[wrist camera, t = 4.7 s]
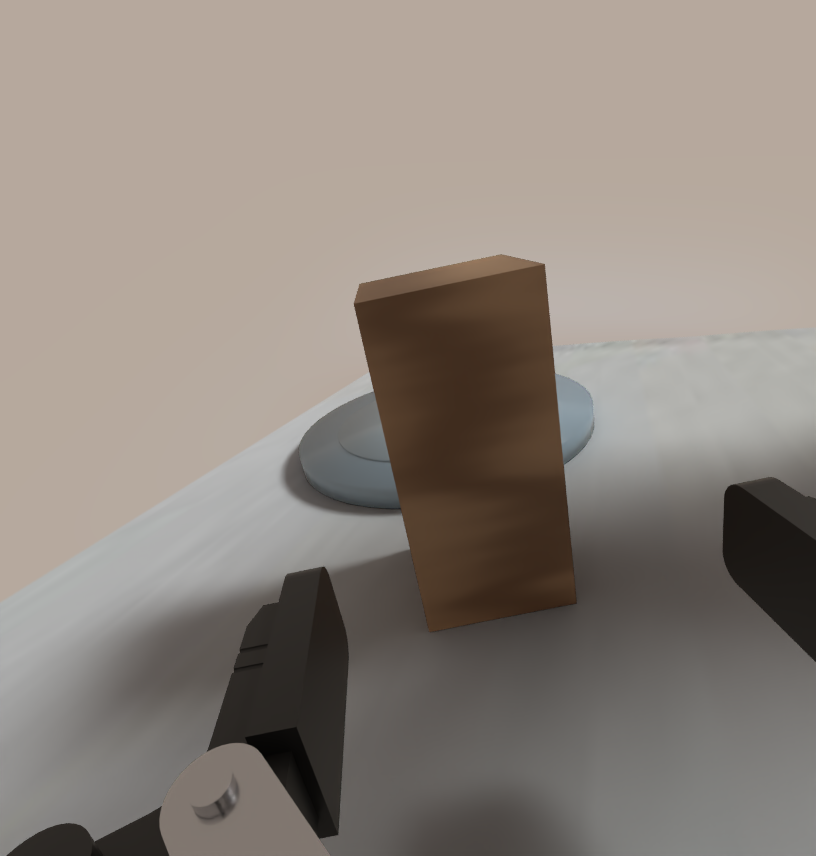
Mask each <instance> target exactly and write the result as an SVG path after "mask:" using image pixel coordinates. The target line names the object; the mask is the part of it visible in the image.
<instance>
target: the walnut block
mask: <svg viewBox="0 0 816 856" xmlns="http://www.w3.org/2000/svg"><path fill="white" fill-rule="evenodd" d="M354 307H355V311H356V316H357V319H358V324H359V329H360V333H361V337H362V342H363V346H364V350H365V355H366V359H367V363H368V367H369V372H370V376H371V381H372V385H373V389H374V394H375V398H376V403H377V407H378V411H379V416H380V420H381V424H382V429H383V433H384V437H385V442H386V446H387V450H388V455H389V459H390V463H391V468H392V472H393V476H394V481H395V485H396V490H397V494H398V498H399V503H400V507H401V511H402V516H403V520H404V524H405V529H406V533H407V537H408V542H409V546H410V550H411V555H412V559H413V564H414V568H415V572H416V577H417V581H418V585H419V590H420V594H421V598H422V603H423V607H424V611H425V616H426V620H427V624H428V629H429V632H433V631H438V630H443V629H448V628H453V627H458V626H463V625H468V624H473V623H479V622H484V621H489V620H494V619H499V618H504V617H509V616H514V615H519V614H525V613H530V612H535V611H540V610H545V609H550V608H555V607H560V606H565V605H570V604H576V603H577V601H576V591H575V580H574V570H573V559H572V548H571V538H570V527H569V517H568V506H567V495H566V485H565V474H564V464H563V453H562V442H561V432H560V421H559V411H558V400H557V389H556V379H555V368H554V358H553V347H552V336H551V326H550V315H549V305H548V294H547V284H546V273H545V264H542V263H538V262H533V261H529V260H524V259H520V258H515V257H511V256H506V255H496V256H492V257H486V258H481V259H477V260H472V261H467V262H462V263H458V264H453V265H448V266H443V267H438V268H433V269H429V270H424V271H419V272H414V273H410V274H405V275H400V276H395V277H390V278H386V279H381V280H376V281H371V282H366V283H362V284H359V288H358V291H357V295H356V298H355V302H354Z"/></svg>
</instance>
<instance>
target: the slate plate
mask: <svg viewBox="0 0 816 856" xmlns="http://www.w3.org/2000/svg"><path fill="white" fill-rule="evenodd" d="M555 379H556V389H557V400H558V411H559V421H560V432H561V442H562V453H563V464H565V463H567V462H568V461H569V460H571V459H572V458H573V457H575V456H576V455H577V454H578V453H579V452H580V451H581V450H582V449H583V448H584V447H585V445H586V444H587V442H588V441H589V439H590V438H591V436H592V433H593V430H594V412H593V400H592V397H591V395H590V393H589V392H588V391H587V390H586V388H585V387H583V386H582V385H581V384H579V383H578V382H576V381H574V380H572V379H570V378H567V377H564V376H561V375H558V374H555ZM299 457H300V460H301V464H302V467H303V470H304V473H305V476H306V478H307V480H308V482H309V483H310V484H311V485H312V486H313V488H315V489H316V490H318V491H319V492H320V493H322V494H324V495H326V496H328V497H330V498H333V499H335V500H338V501H342V502H345V503H349V504H354V505H360V506H365V507H376V508H401V507H400V503H399V498H398V494H397V490H396V485H395V481H394V476H393V472H392V468H391V463H390V459H389V455H388V450H387V446H386V442H385V437H384V433H383V429H382V424H381V420H380V416H379V411H378V407H377V403H376V398H375V394H374V391H373V392H371V393H368V394H366V395H363V396H361V397H358V398H356V399H354V400H352V401H349V402H348V403H346V404H344V405H342V406H340V407H338V408H336V409H335V410H333V411H331V412H329V413H328V414H327V415H325V416H324V417H322V418H321V419H319V420H318V421H317V422H316V423H315V424H314V425H313V426H311V428H310V429H309V430H308V431H307V432H306V433H305V435H304V436H303V438H302V440H301V442H300V445H299Z"/></svg>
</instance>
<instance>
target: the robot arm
mask: <svg viewBox="0 0 816 856" xmlns="http://www.w3.org/2000/svg"><path fill="white" fill-rule="evenodd" d="M723 558H724V562H725V565H726V567H727V570H728V572H729V574H730V575H731V577H732V578H733V580H734V581H735V582H736V583H737V585H738V586H739V587H740V588H742V589H743V590H744V591H745V592H746V593H747V594H748V595H749V596H750V597H751V598H752V599H753V600H754V601H755V602H756V603H757V604H758V605H759V606H760V607H761V608H762V609H763V610H764V611H765V612H766V613H767V614H768V615H769V616H770V617H771V618H772V619H773V620H774V621H775V622H776V623H777V624H778V625H779V626H780V627H781V628H782V629H783V630H784V631H785V632H786V633H787V634H788V635H789V636H790V637H791V638H792V639H793V640H794V641H795V642H796V643H797V644H798V645H799V646H800V647H801V648H802V649H803V650H804V651H805V652H806V653H807V654H808V655H809V656H810V657H811V658H812V659H813V660H814V661H815V662H816V499H815V498H812V497H809V496H808V497H805V496H803V495H802V494H800V493H799V492H797V491H796V490H794V489H792V488H791V487H789V486H788V485H786V484H784V483H783V482H781V481H780V480H778V479H776V478H772V477H768V478H763V479H759V480H754V481H749V482H744V483H739V484H734V485H730V486H729V487H728V488H727V489H726V491H725V496H724V521H723ZM348 661H349V653H348V642H347V635H346V630H345V626H344V623H343V620H342V616H341V613H340V610H339V607H338V603H337V600H336V597H335V594H334V590H333V587H332V584H331V581H330V577H329V574H328V572H327V570H326V568H325V567H319V568H314V569H309V570H304V571H299V572H295V573H290V574H287V575H286V577H285V580H284V583H283V587H282V591H281V595H280V599H279V602H278V603H273V604H268V605H263V607H262V608H261V609H260V610H259V612H258V613H257V614H256V616H255V617H254V618H253V619H252V621H251V622H250V623H249V625H248V626H247V628H246V631H245V634H244V637H243V640H242V644H241V647H240V654H238V656H237V659H236V663H235V666H234V673H232V675H231V678H230V681H229V685H228V688H227V691H226V694H225V697H224V700H223V704H222V707H221V710H220V713H219V716H218V719H217V722H216V726H215V729H214V732H213V735H212V738H211V741H210V744H209V748H208V750H207V752H206V753H204V754H203V755H201V756H200V757H198V758H197V759H196V760H195V761H193V762H192V763H191V764H190V765H189V766H188V767H187V768H186V769H185V770H184V771H183V772H182V773H181V774H180V775H179V776H178V778H177V779H176V780H175V781H174V783H173V785H172V786H171V788H170V789H169V791H168V793H167V795H166V797H165V799H164V802H163V805H162V806H161V807H160V808H158V809H156V810H155V811H153V812H151V813H150V814H148V815H146V816H144V817H142V818H140V819H138V820H136V821H134V822H132V823H130V824H128V825H126V826H124V827H122V828H120V829H118V830H116V831H115V832H113V833H111V834H109V835H107V836H105V837H103V838H101V839H99V840H97V841H95V842H94V840H93V839H92V837H91V836H90V834H89V833H88V831H87V830H86V829H85V828H84V827H82V826H81V825H77V824H71V823H66V824H60V825H56V826H53V827H50V828H47V829H45V830H43V831H41V832H39V833H37V834H35V835H34V836H32V837H30V838H29V839H27V840H26V841H24V842H23V843H22V844H20V845H19V846H17V847H16V848H15V849H14V850H13V851H12V852H10V853H9V854H8V855H7V856H331V855H330V854H329V853H328V851H327V850H326V848H325V847H324V845H323V844H322V842H321V841H320V840H319V839H320V838H325V837H330V836H335V835H338V831H339V814H340V797H341V780H342V763H343V746H344V729H345V712H346V695H347V678H348Z"/></svg>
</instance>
